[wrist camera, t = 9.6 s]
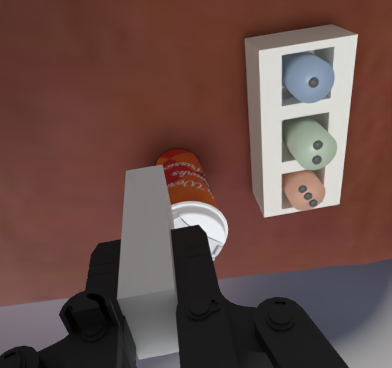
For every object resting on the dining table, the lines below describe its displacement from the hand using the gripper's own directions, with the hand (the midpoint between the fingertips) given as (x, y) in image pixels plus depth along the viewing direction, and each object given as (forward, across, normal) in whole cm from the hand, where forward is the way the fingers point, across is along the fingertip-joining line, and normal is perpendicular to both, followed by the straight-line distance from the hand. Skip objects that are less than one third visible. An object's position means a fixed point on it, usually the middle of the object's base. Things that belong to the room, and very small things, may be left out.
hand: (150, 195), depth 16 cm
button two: (+26, +16, -12) cm, 33 cm away
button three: (+28, +16, -18) cm, 37 cm away
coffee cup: (+30, +1, -16) cm, 34 cm away
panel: (+29, +16, -12) cm, 35 cm away
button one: (+28, +16, -4) cm, 32 cm away
